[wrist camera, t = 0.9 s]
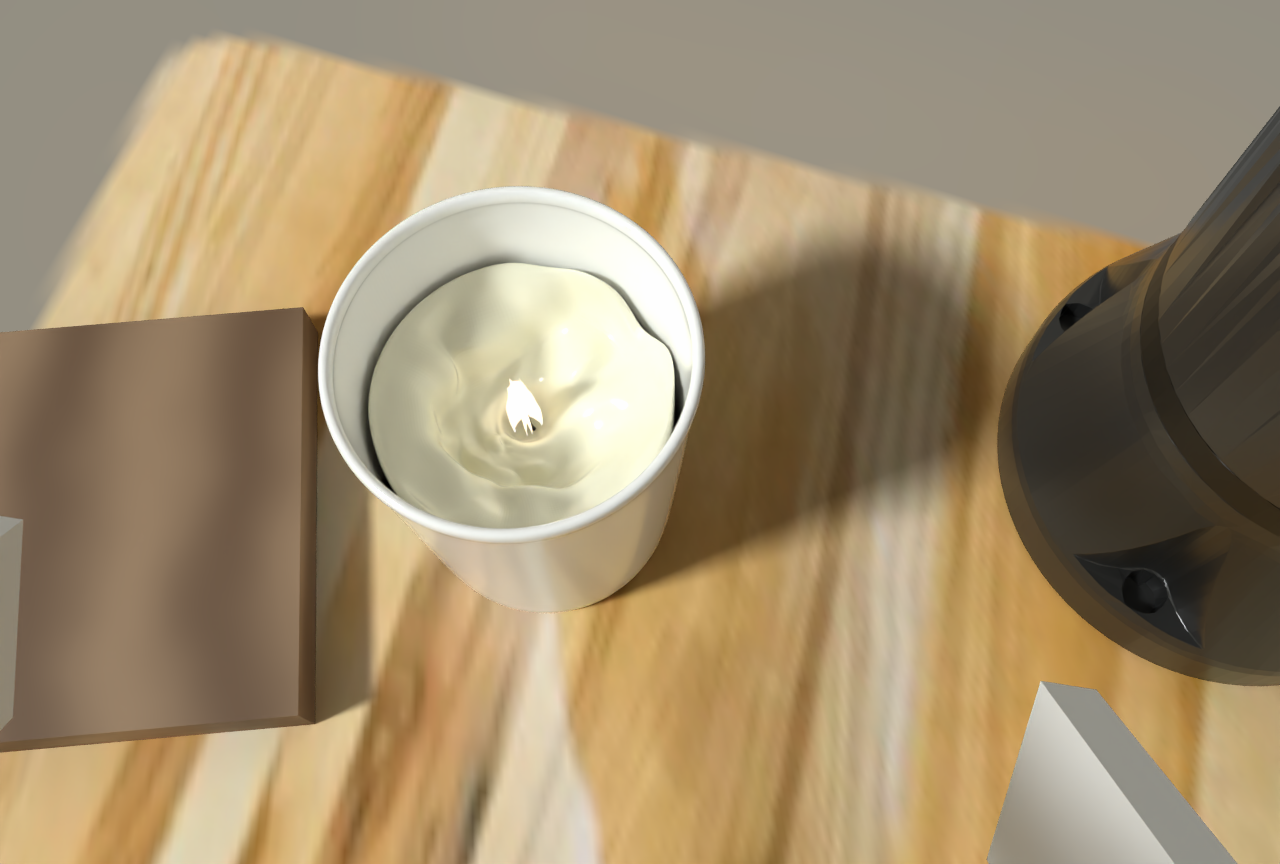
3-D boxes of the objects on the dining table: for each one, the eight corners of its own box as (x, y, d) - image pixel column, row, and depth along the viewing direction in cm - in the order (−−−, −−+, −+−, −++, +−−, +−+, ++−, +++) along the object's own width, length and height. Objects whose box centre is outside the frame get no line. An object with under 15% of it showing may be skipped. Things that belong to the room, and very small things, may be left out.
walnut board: (317, 331, 44) (303, 307, 42) (315, 723, 39) (297, 715, 37) (-127, 369, 44) (-162, 345, 42) (-187, 769, 39) (-229, 762, 37)
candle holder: (577, 316, 44) (551, 120, 33) (750, 519, 42) (785, 380, 30) (351, 474, 42) (242, 323, 31) (518, 699, 40) (463, 621, 28)
